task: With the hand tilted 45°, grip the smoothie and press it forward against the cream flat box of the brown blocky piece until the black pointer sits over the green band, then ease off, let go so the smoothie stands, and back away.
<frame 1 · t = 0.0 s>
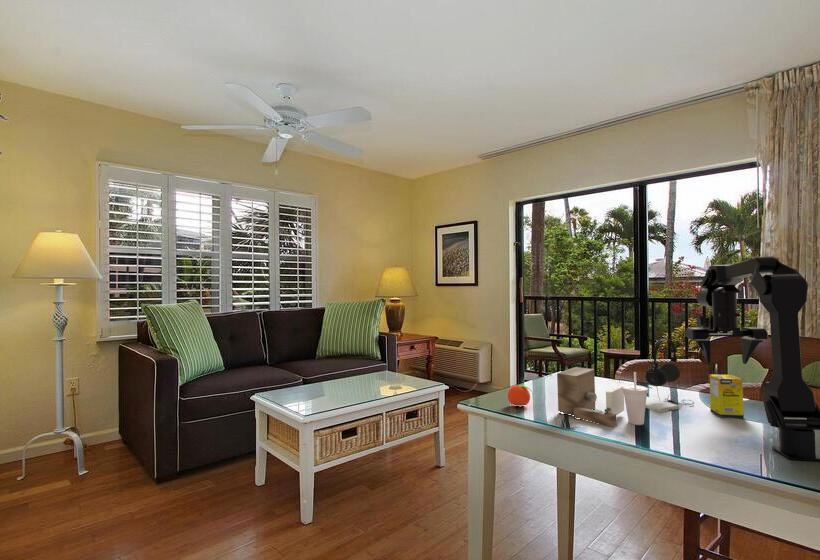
hand: (726, 363, 122), 15 cm above the table, tool pointing down, fingers open, 9 cm apart
clementine: (520, 407, 136), on the table
external hard drive: (651, 407, 134), on the table
smoothie: (636, 423, 118), on the table
brown blocky piece: (618, 419, 121), on the table
headphones: (672, 403, 136), on the table
supplement box: (726, 415, 123), on the table
cream flat box: (613, 402, 121), point 5 cm above the table, slide at 0.0 cm
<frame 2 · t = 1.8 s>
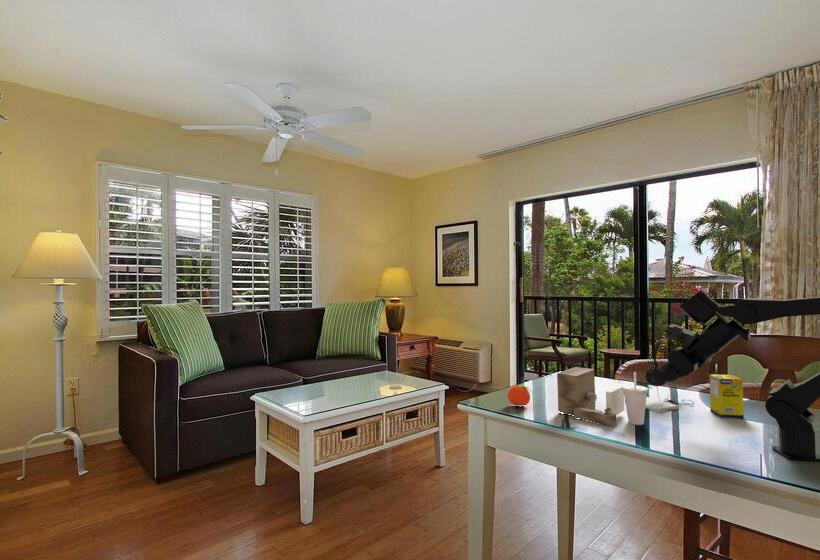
hand: (665, 377, 113), 13 cm above the table, tool tilted 45°, fingers open, 9 cm apart
nothing on the table moved.
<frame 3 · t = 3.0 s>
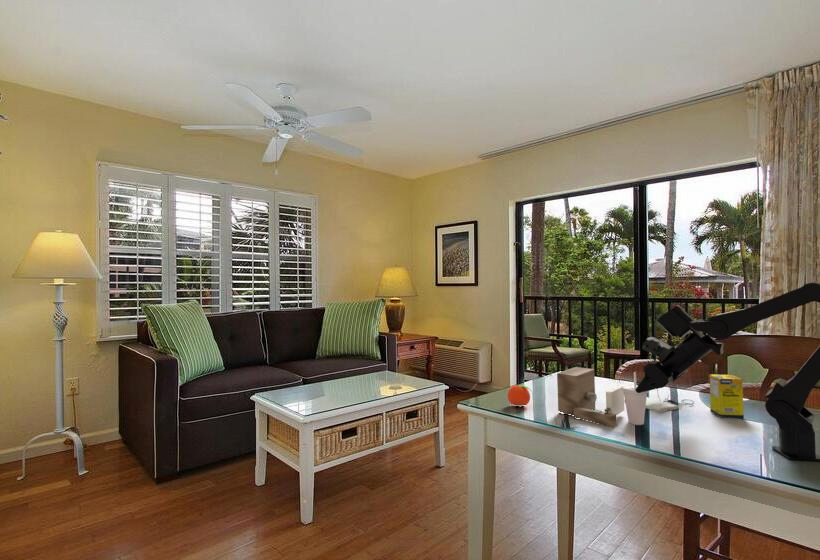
hand: (642, 388, 117), 10 cm above the table, tool tilted 45°, fingers open, 9 cm apart
nothing on the table moved.
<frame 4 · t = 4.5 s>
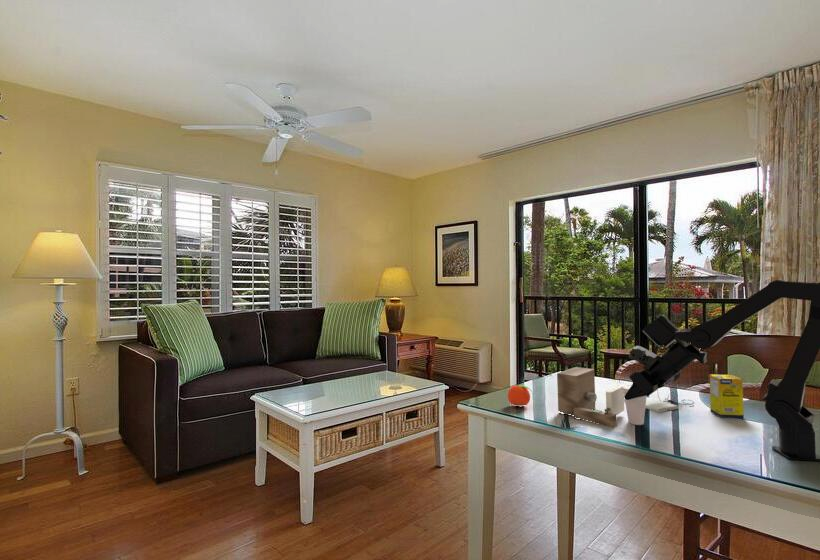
hand: (629, 396, 119), 7 cm above the table, tool tilted 45°, fingers closed on smoothie, 6 cm apart
smoothie: (636, 423, 118), on the table, touching gripper
everything else where it was.
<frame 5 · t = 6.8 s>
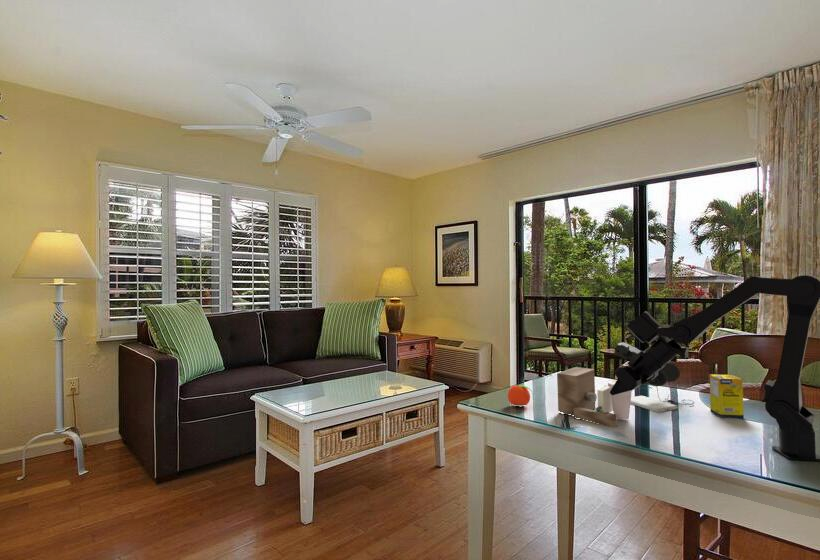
hand: (615, 391, 122), 8 cm above the table, tool tilted 45°, fingers closed on smoothie, 6 cm apart
smoothie: (621, 418, 121), on the table, touching gripper
cream flat box: (605, 400, 123), point 5 cm above the table, slide at 2.3 cm
everything else where it was.
when the fingers open (8 cm above the table, at t = 8.1 s): smoothie stays where it is, on the table.
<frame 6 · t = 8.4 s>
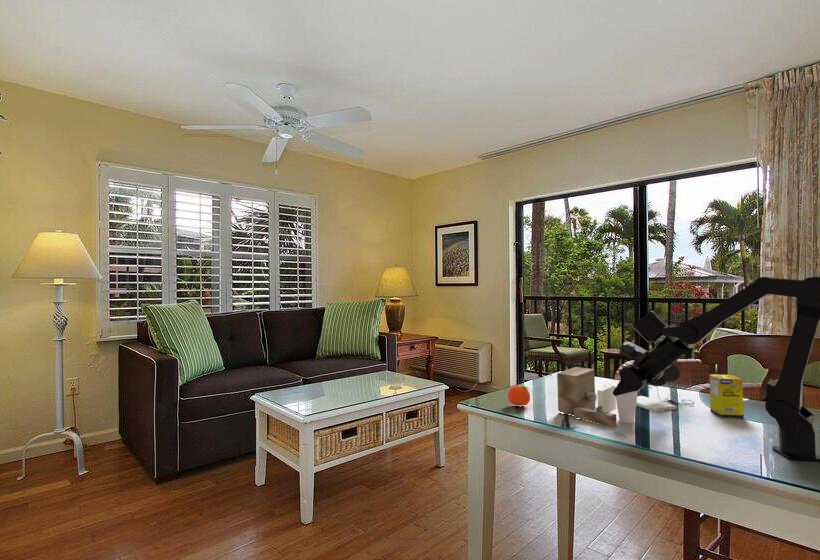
hand: (620, 391, 121), 8 cm above the table, tool tilted 45°, fingers open, 9 cm apart
smoothie: (626, 421, 120), on the table
everything else where it was.
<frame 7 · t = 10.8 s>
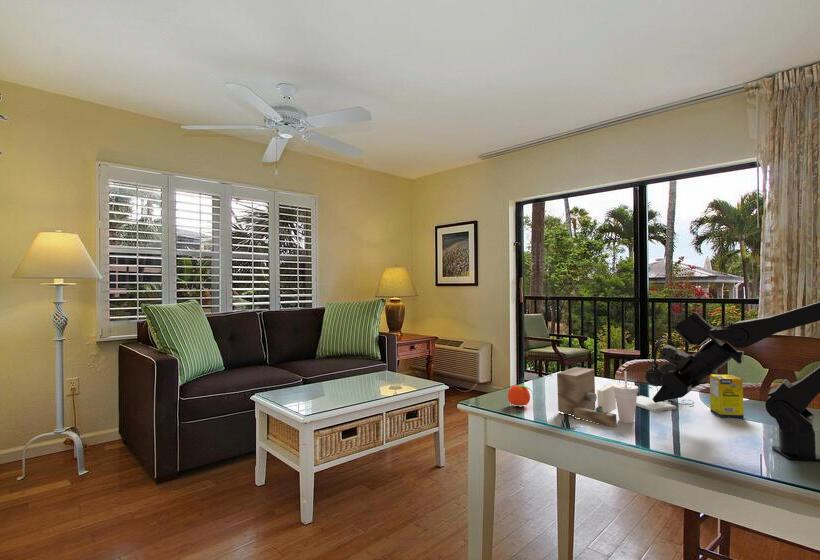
hand: (659, 397, 114), 8 cm above the table, tool tilted 45°, fingers open, 9 cm apart
nothing on the table moved.
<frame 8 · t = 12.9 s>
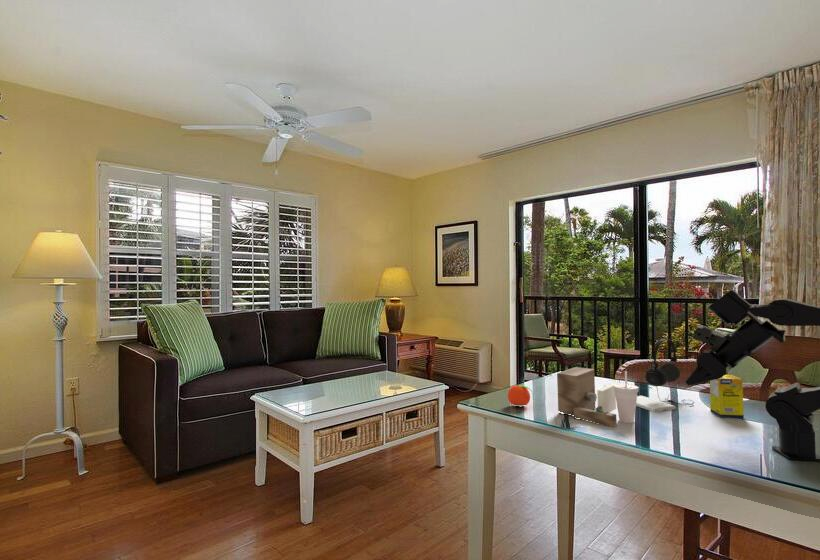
hand: (692, 380, 108), 14 cm above the table, tool tilted 45°, fingers open, 9 cm apart
at the end: cream flat box slide at 2.3 cm; smoothie tilted 0°; the gripper is holding nothing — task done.
